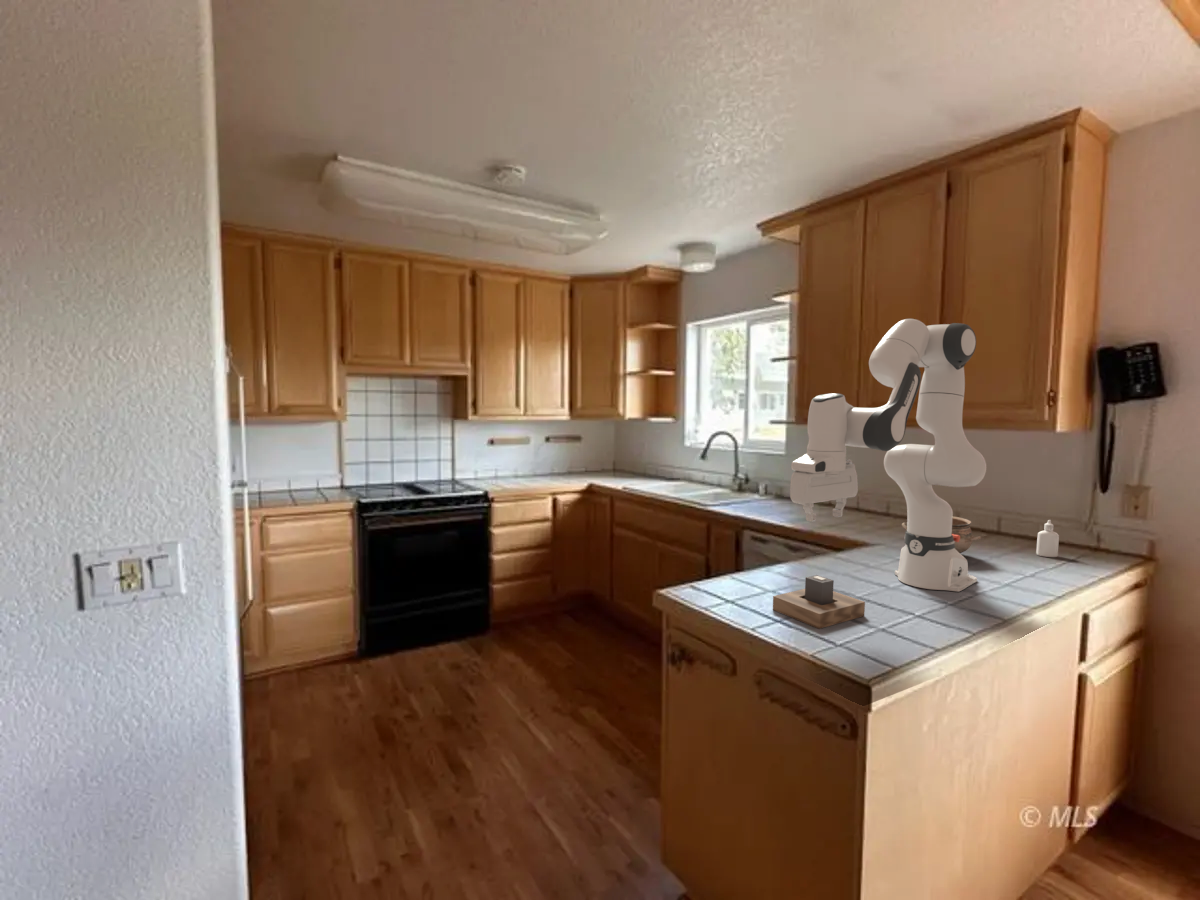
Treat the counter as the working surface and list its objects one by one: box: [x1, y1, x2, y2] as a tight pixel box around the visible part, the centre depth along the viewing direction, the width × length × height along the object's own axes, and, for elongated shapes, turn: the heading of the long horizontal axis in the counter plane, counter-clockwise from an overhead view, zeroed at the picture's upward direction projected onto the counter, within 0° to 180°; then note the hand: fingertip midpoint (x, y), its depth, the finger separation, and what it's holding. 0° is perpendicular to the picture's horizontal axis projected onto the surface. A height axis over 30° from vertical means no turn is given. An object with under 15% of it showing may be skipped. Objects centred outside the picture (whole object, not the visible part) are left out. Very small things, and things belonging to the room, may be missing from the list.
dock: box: [772, 588, 866, 630], centre depth 147 cm, size 16×14×4 cm
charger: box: [804, 574, 834, 605], centre depth 147 cm, size 4×5×8 cm
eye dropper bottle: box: [1035, 519, 1060, 558], centre depth 199 cm, size 4×6×12 cm
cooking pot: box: [901, 516, 982, 554], centre depth 199 cm, size 25×19×12 cm
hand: (824, 518), depth 146 cm, fingers open, 8 cm apart
